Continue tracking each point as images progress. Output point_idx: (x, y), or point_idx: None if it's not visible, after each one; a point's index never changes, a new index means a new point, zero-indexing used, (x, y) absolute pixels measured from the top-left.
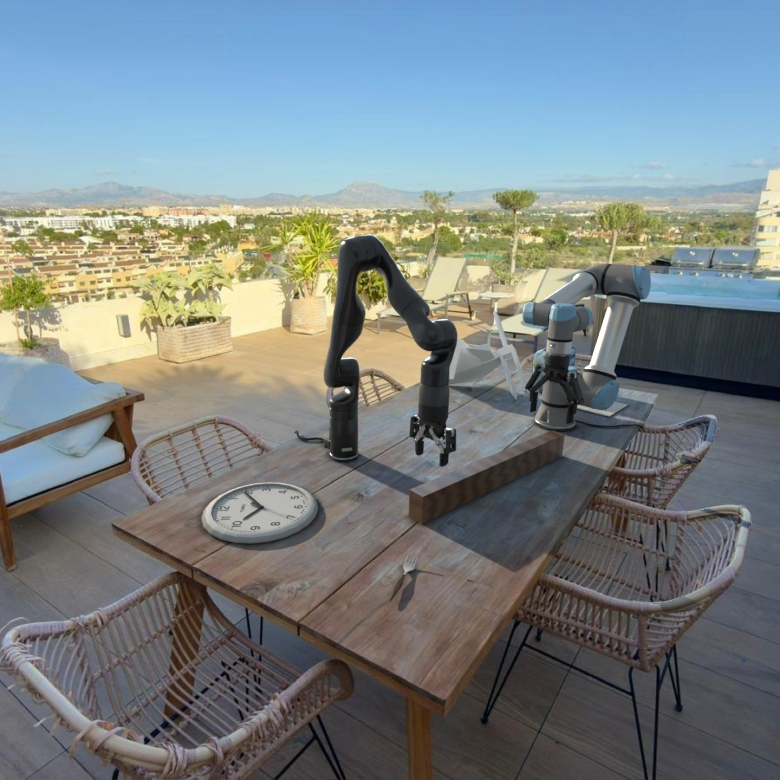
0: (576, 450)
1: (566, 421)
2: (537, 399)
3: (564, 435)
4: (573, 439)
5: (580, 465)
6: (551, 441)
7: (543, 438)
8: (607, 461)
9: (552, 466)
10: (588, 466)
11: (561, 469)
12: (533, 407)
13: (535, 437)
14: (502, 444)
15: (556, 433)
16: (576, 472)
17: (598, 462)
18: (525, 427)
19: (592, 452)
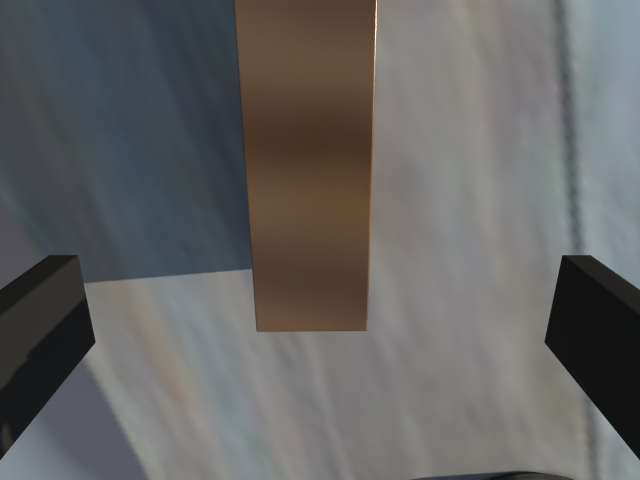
0: (272, 375)
1: (61, 265)
2: (635, 452)
3: (257, 325)
4: (357, 466)
5: (145, 238)
6: (245, 154)
7: (308, 136)
8: (106, 374)
9: (223, 102)
10: (115, 259)
11: (167, 108)
12: (589, 312)
13: (366, 99)
14: (611, 134)
15: (304, 302)
16: (96, 142)
17: (120, 335)
18: None
19: (211, 408)
